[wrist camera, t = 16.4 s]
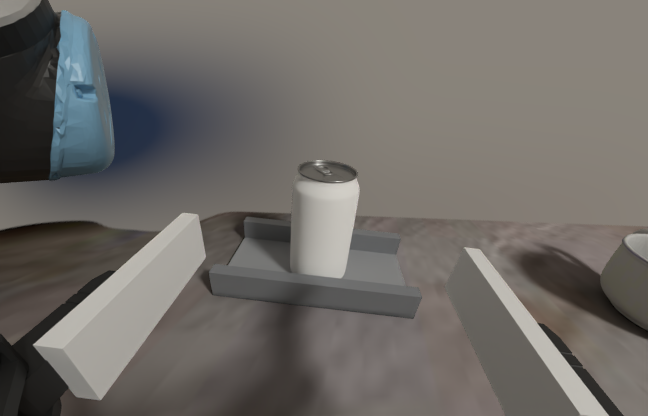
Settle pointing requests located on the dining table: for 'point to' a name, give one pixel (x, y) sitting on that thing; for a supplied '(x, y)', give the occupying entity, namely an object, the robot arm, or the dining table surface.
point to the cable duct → (317, 291)
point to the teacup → (629, 278)
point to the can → (322, 217)
